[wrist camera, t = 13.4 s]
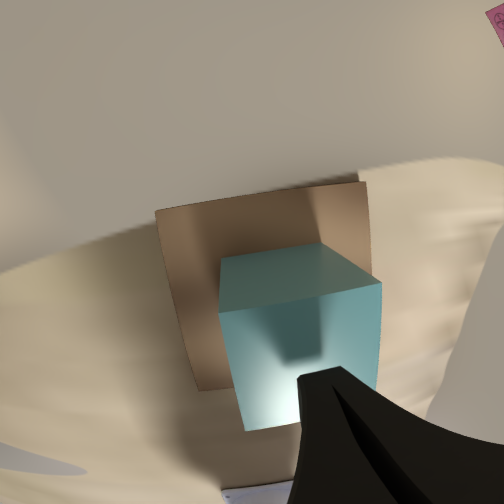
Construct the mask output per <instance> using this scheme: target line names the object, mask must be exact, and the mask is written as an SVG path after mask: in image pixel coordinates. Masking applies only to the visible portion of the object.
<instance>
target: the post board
mask: <svg viewBox="0 0 504 504" xmlns="http://www.w3.org/2000/svg"><path fill="white" fill-rule="evenodd" d="M155 216H156V222H157V228H158V233H159V238H160V243H161V248H162V253H163V258H164V262H165V267H166V271H167V276H168V280H169V285H170V289H171V293H172V297H173V301H174V305H175V309H176V313H177V317H178V321H179V325H180V329H181V332H182V336H183V340H184V343H185V347H186V351H187V354H188V357H189V361H190V364H191V368H192V371H193V374H194V378H195V381H196V384H197V387H198V390H199V391H208V390H217V389H225V388H232V387H234V383H233V379H232V374H231V370H230V366H229V361H228V357H227V352H226V348H225V343H224V339H223V334H222V329H221V325H220V320H219V315H218V307H219V288H220V271H221V258H226V257H232V256H238V255H245V254H251V253H257V252H263V251H270V250H276V249H282V248H288V247H295V246H301V245H307V244H313V243H320V242H322V243H323V244H325V245H326V246H328V247H329V248H331V249H333V250H334V251H336V252H337V253H339V254H340V255H342V256H343V257H345V258H346V259H348V260H349V261H351V262H352V263H354V264H355V265H357V266H358V267H360V268H361V269H363V270H364V271H366V272H367V273H369V274H370V275H372V264H371V239H370V222H369V209H368V197H367V187H366V182H349V183H339V184H330V185H321V186H312V187H303V188H295V189H287V190H279V191H272V192H265V193H258V194H251V195H244V196H237V197H231V198H224V199H218V200H212V201H206V202H200V203H194V204H188V205H183V206H177V207H172V208H166V209H161V210H157V211H155Z"/></svg>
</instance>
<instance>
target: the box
mask: <svg viewBox="0 0 504 504" xmlns="http://www.w3.org/2000/svg"><path fill="white" fill-rule="evenodd" d="M485 13H486V15H487V16H488V18H489V20H490V22H491V24H492V25H493V27H494V29H495V31H496V33H497V35H498V37H499V39H500V41H501V43H502V45H503V47H504V3H503V4H501V5H500V6H497V7H495V8H493V9H491V10H489V11H487V12H485Z"/></svg>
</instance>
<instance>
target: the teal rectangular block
mask: <svg viewBox="0 0 504 504" xmlns="http://www.w3.org/2000/svg"><path fill="white" fill-rule="evenodd" d="M381 310H382V282H380V281H379V280H377V279H376V278H374V277H373V276H372V275H370V274H369V273H367V272H366V271H364V270H363V269H361V268H360V267H358V266H357V265H355V264H354V263H352V262H351V261H349V260H348V259H346V258H345V257H343V256H342V255H340V254H339V253H337V252H336V251H334V250H333V249H331V248H329V247H328V246H326V245H325V244H323V243H322V242H320V243H313V244H307V245H301V246H295V247H288V248H282V249H276V250H270V251H263V252H257V253H251V254H245V255H238V256H232V257H226V258H221V271H220V288H219V307H218V315H219V320H220V325H221V329H222V334H223V339H224V343H225V348H226V352H227V357H228V361H229V366H230V370H231V374H232V379H233V383H234V387H235V392H236V396H237V400H238V404H239V408H240V412H241V416H242V420H243V424H244V428H245V431H251V430H257V429H264V428H270V427H276V426H281V425H286V424H291V423H296V422H300V415H299V402H298V390H297V378H298V377H299V376H300V375H302V374H307V373H311V372H316V371H320V370H324V369H329V368H333V367H337V366H342V367H343V368H345V369H346V370H347V371H349V372H350V373H351V374H353V375H354V376H355V377H357V378H358V379H359V380H361V381H362V382H363V383H365V384H366V385H368V386H369V387H370V388H372V389H373V390H375V391H376V382H377V372H378V362H379V349H380V334H381Z"/></svg>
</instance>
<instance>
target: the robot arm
mask: <svg viewBox="0 0 504 504" xmlns="http://www.w3.org/2000/svg"><path fill="white" fill-rule="evenodd" d="M297 390H298V402H299V415H300V423H301V427H302V433H301V441H300V449H299V456H298V462H297V467H296V471H295V476H294V480H292V481H287V482H282V483H276V484H270V485H263V486H256V487H247V488H238V489H227V490H222V491H221V495H222V497H223V499H224V501H225V503H226V504H504V445H502V444H496V443H491V442H486V441H482V440H478V439H474V438H471V437H467V436H463V435H460V434H457V433H454V432H452V431H449V430H446V429H444V428H442V427H439V426H436V425H434V424H432V423H430V422H427V421H425V420H423V419H421V418H419V417H417V416H416V415H414V414H412V413H410V412H408V411H406V410H405V409H403V408H401V407H399V406H398V405H396V404H395V403H393V402H391V401H390V400H388V399H387V398H385V397H384V396H382V395H381V394H379V393H378V392H376V391H375V390H373V389H372V388H370V387H369V386H368V385H366V384H365V383H363V382H362V381H361V380H359V379H358V378H357V377H355V376H354V375H353V374H351V373H350V372H349V371H347V370H346V369H345V368H343V367H342V366H337V367H333V368H329V369H324V370H320V371H316V372H311V373H307V374H302V375H300V376H299V377H298V378H297Z"/></svg>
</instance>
